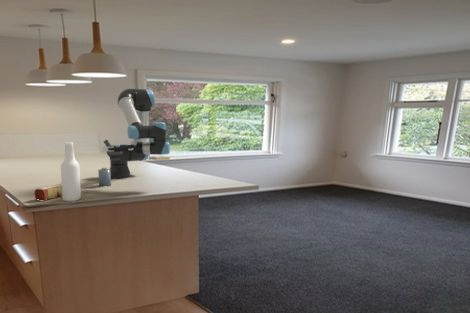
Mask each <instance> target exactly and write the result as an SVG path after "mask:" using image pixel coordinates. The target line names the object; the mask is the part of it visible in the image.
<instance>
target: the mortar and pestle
mask: <svg viewBox="0 0 470 313" xmlns="http://www.w3.org/2000/svg"><path fill="white" fill-rule="evenodd" d="M103 143H104V145H105V147H112V146H111V145H112V144H110V142H109V140H108V139H105V140H103ZM116 150H117V149H116ZM105 152H106V155H107V156H108V157H109V161H110V160H120V157H121V156H122V154H123V152H114V151H105Z"/></svg>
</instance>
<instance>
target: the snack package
mask: <svg viewBox="0 0 470 313" xmlns="http://www.w3.org/2000/svg"><path fill="white" fill-rule="evenodd" d="M61 195H62V182H61V183H57V184H53V185H48V186H43V187H37V188H36V189H35V190H34V198H35V200H37V199H39V200H45V201H47V200H46V199H48V200H51V199H50V198H52V199H55V198H59V197H62V196H61ZM58 196H59V197H58ZM54 197H55V198H54Z"/></svg>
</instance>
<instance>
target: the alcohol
mask: <svg viewBox="0 0 470 313" xmlns="http://www.w3.org/2000/svg"><path fill="white" fill-rule="evenodd" d="M75 156H76V155H75V149H74V141H73V142H72V141H68V142H67V141H66V142H64V160H63V161H62V163H61V164H60V178H61V183H62V196H61V197H62V198H61V199H62V200H63V201H64V202H68V201H70V202H76V201H80V200H81V198H82V186H81V169H80V168H81V167H80V163H79V162H78V161H77V159H76V158H75ZM79 199H80V200H79Z"/></svg>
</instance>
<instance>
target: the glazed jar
mask: <svg viewBox="0 0 470 313" xmlns="http://www.w3.org/2000/svg"><path fill="white" fill-rule="evenodd" d="M100 186H107V187H111V186H112V178H111V172H110V168H108V167H102V168H100V169H98V187H100Z"/></svg>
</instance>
